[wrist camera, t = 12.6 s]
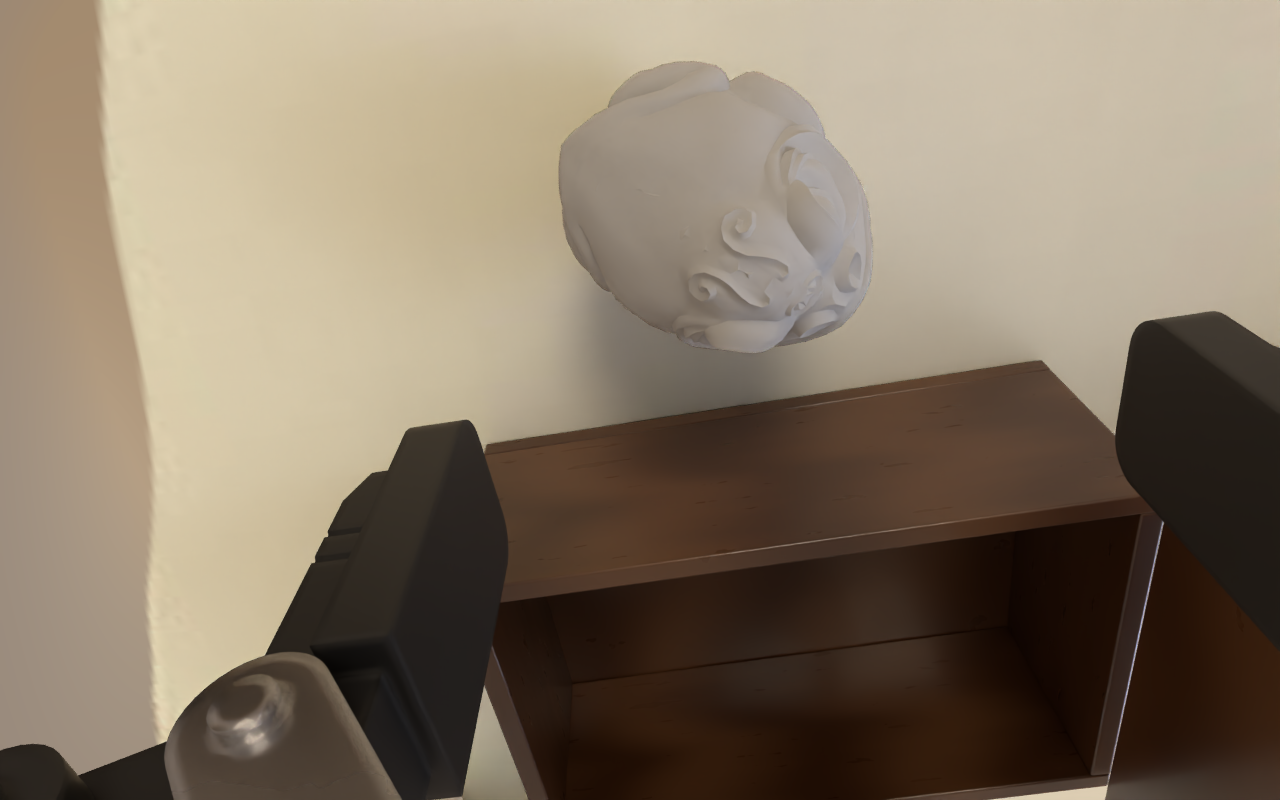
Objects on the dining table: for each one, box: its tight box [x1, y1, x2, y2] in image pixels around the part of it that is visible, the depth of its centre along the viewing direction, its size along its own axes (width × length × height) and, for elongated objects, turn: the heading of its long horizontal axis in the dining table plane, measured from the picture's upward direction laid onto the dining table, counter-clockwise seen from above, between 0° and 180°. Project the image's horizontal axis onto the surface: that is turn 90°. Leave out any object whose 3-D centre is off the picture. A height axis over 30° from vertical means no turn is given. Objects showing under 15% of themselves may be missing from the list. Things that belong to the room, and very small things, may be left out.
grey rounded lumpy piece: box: [559, 61, 873, 353], centre depth 18 cm, size 6×7×7 cm
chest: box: [484, 360, 1163, 800], centre depth 25 cm, size 17×11×7 cm, turn 99°
